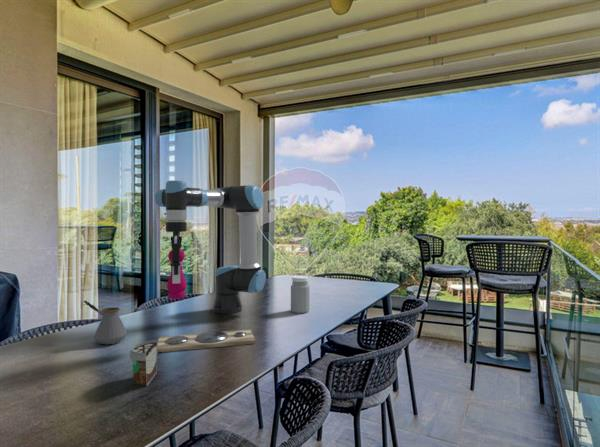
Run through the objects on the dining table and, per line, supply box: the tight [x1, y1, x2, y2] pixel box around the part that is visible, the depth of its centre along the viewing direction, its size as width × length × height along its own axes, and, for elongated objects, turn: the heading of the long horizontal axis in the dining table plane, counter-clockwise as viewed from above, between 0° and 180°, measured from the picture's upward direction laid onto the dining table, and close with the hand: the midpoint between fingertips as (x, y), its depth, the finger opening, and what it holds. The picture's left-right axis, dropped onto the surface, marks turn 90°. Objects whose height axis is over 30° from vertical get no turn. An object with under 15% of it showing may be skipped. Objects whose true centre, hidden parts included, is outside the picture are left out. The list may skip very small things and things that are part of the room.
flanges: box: [196, 331, 246, 343], centre depth 147 cm, size 12×19×1 cm, turn 106°
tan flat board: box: [157, 328, 256, 354], centre depth 145 cm, size 14×36×2 cm, turn 106°
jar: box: [290, 275, 311, 314], centre depth 192 cm, size 10×10×18 cm
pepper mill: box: [166, 249, 188, 300], centre depth 142 cm, size 7×7×20 cm
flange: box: [166, 335, 188, 344], centre depth 142 cm, size 8×8×1 cm
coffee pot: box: [81, 300, 128, 345], centre depth 147 cm, size 21×12×15 cm, turn 66°
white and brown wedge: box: [129, 339, 158, 387], centre depth 112 cm, size 12×6×10 cm, turn 5°
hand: (176, 281), depth 142 cm, fingers closed on pepper mill, 6 cm apart
